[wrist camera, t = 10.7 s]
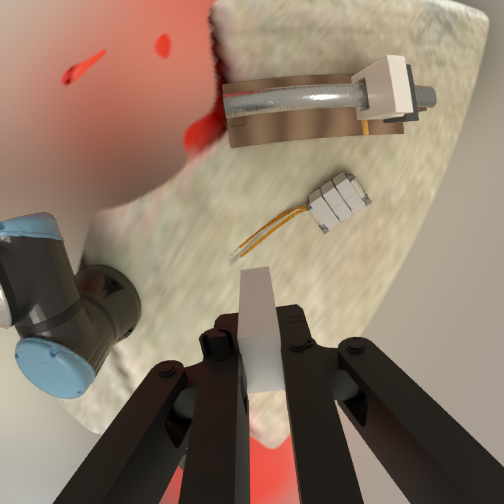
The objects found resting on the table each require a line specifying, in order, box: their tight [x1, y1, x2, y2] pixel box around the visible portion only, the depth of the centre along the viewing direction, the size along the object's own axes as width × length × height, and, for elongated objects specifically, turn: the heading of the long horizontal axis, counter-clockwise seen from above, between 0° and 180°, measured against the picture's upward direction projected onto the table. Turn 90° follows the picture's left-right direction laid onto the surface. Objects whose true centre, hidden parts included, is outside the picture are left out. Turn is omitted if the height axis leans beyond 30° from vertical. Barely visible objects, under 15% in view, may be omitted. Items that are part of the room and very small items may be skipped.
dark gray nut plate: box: [383, 65, 419, 123], centre depth 34 cm, size 2×7×7 cm, turn 8°
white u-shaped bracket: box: [351, 55, 413, 120], centre depth 31 cm, size 4×6×12 cm, turn 8°
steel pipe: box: [223, 83, 436, 119], centre depth 34 cm, size 27×3×3 cm, turn 98°
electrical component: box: [229, 172, 371, 265], centre depth 50 cm, size 24×6×5 cm, turn 129°
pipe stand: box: [222, 74, 427, 148], centre depth 41 cm, size 28×10×10 cm, turn 98°
